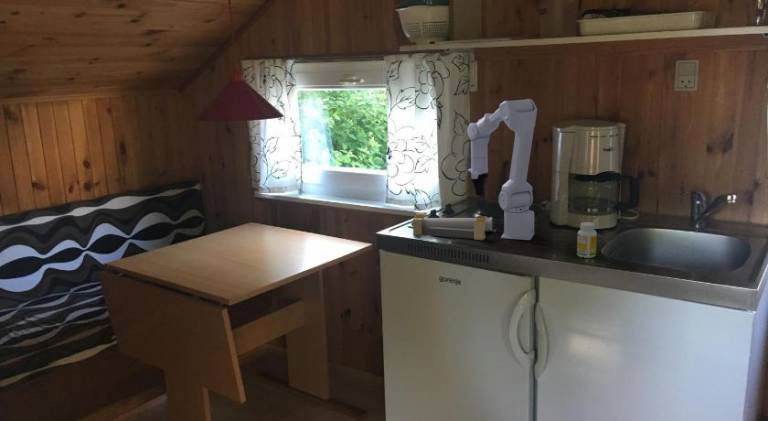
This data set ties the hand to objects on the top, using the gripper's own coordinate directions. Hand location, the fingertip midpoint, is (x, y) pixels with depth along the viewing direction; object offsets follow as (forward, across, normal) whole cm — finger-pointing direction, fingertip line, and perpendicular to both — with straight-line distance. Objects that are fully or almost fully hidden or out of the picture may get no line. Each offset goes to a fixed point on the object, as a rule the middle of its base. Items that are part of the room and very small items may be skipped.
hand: (479, 194), depth 227 cm
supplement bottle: (+10, +30, +40) cm, 51 cm away
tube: (+10, +16, -5) cm, 19 cm away
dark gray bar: (+9, +21, -5) cm, 24 cm away
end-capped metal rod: (+9, +21, -5) cm, 24 cm away
